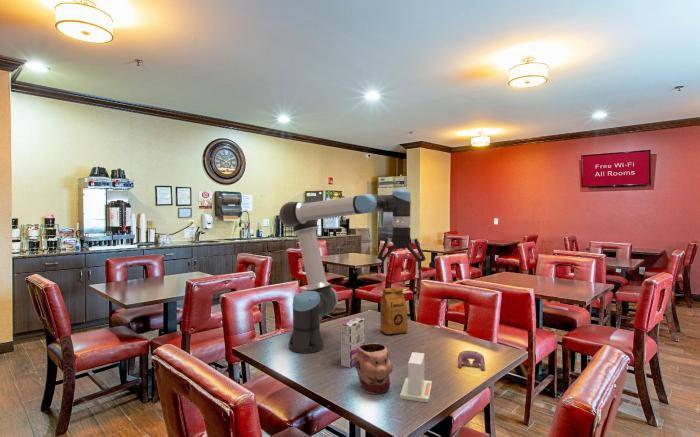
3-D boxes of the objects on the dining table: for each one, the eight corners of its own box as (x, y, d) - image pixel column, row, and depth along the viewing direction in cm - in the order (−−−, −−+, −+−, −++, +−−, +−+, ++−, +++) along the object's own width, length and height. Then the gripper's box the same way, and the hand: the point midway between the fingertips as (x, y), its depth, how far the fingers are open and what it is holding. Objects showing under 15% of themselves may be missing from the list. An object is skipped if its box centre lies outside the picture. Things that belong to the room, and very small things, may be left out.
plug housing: (421, 395, 125) (421, 364, 124) (408, 393, 126) (408, 362, 125) (424, 382, 134) (424, 353, 133) (412, 380, 135) (412, 352, 135)
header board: (400, 398, 125) (400, 379, 125) (406, 381, 137) (406, 363, 137) (428, 402, 122) (428, 383, 122) (432, 384, 135) (432, 366, 134)
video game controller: (484, 371, 149) (484, 352, 152) (485, 370, 145) (484, 351, 148) (457, 368, 152) (457, 349, 155) (457, 367, 148) (457, 348, 151)
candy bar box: (354, 356, 160) (354, 316, 159) (365, 359, 157) (365, 318, 157) (339, 365, 150) (339, 323, 150) (350, 368, 148) (350, 325, 147)
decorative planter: (345, 377, 140) (345, 339, 140) (375, 371, 145) (375, 334, 145) (369, 403, 122) (369, 359, 121) (402, 395, 127) (403, 353, 126)
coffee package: (409, 334, 187) (410, 288, 187) (385, 336, 184) (386, 290, 183) (401, 328, 197) (401, 284, 196) (378, 330, 193) (378, 286, 193)
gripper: (370, 226, 165) (370, 276, 165) (430, 227, 158) (430, 279, 158) (374, 225, 172) (374, 273, 173) (432, 226, 165) (431, 276, 165)
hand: (401, 276), depth 165 cm, fingers open, 13 cm apart
